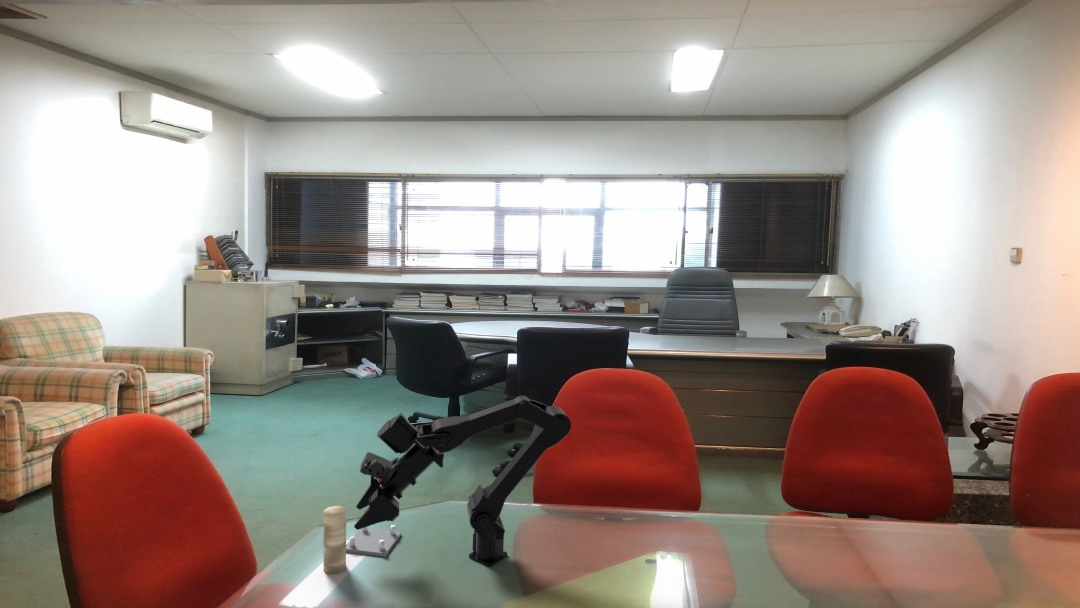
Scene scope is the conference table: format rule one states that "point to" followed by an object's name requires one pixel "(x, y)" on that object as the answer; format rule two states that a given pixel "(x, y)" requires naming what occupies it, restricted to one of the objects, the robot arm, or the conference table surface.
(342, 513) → the birch post
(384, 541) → the peg plate
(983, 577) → the conference table surface
